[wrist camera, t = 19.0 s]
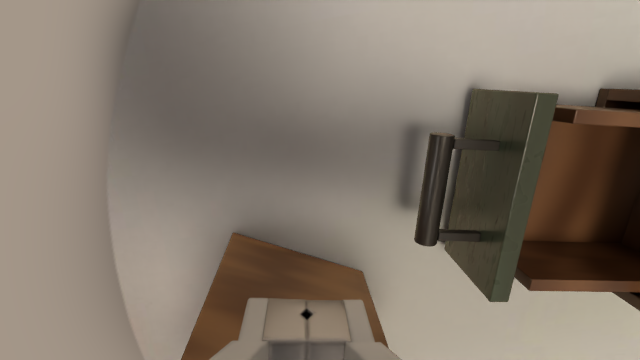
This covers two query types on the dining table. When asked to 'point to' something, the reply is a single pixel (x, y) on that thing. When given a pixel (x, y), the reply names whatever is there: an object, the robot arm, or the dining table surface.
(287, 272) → the stand
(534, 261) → the drawer
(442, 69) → the dining table surface
